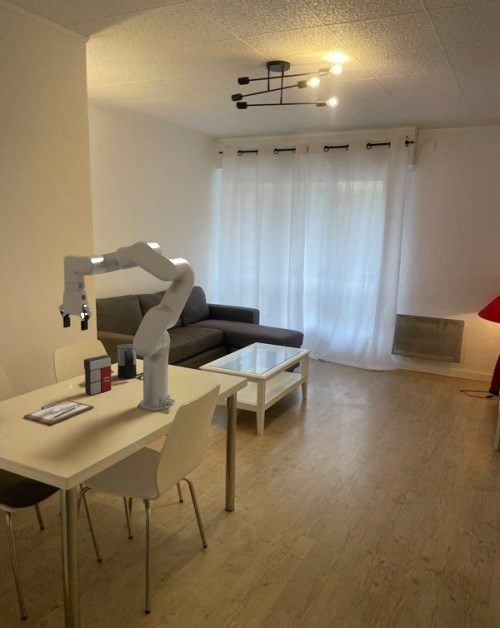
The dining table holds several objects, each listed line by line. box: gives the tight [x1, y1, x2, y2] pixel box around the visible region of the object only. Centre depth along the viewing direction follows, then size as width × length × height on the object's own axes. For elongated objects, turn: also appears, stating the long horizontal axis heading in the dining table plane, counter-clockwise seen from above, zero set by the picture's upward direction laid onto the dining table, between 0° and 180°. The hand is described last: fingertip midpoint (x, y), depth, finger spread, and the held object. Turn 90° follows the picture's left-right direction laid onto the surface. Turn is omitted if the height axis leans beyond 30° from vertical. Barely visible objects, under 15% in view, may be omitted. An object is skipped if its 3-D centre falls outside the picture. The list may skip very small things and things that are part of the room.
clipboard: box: [23, 399, 95, 426], centre depth 179 cm, size 14×20×2 cm
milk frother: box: [116, 343, 143, 380], centre depth 226 cm, size 14×16×15 cm
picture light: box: [50, 406, 77, 419], centre depth 177 cm, size 14×4×2 cm, turn 159°
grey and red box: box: [83, 354, 112, 396], centre depth 202 cm, size 11×4×15 cm, turn 143°
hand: (75, 328), depth 194 cm, fingers open, 9 cm apart
